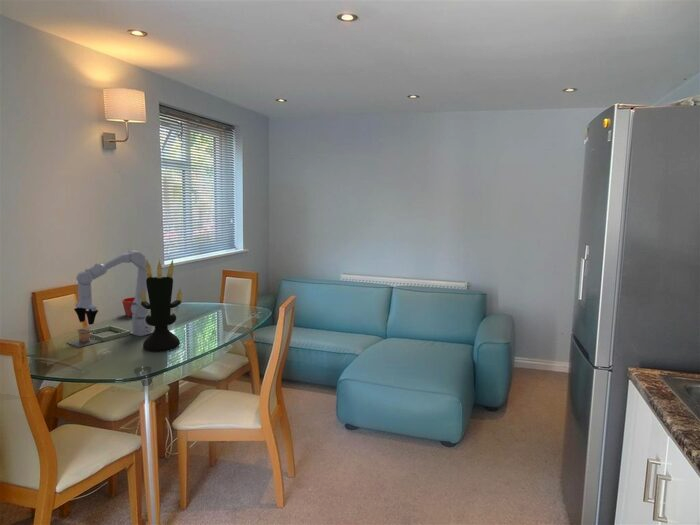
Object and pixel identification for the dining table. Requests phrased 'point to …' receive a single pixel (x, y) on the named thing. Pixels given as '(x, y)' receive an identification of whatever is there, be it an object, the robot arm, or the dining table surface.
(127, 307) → the flower pot
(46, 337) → the dining table surface
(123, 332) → the pale green square frame
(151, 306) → the candelabra
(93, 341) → the slate tile
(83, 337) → the seedling pot
